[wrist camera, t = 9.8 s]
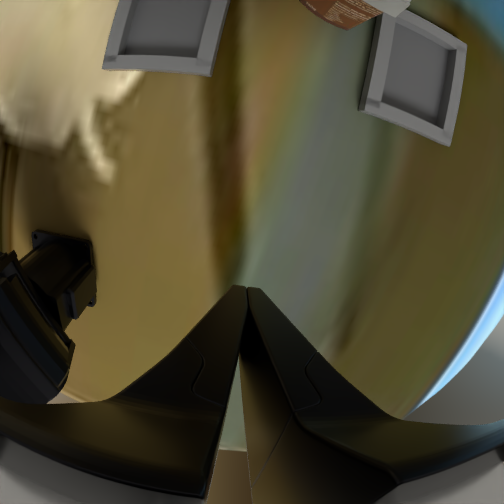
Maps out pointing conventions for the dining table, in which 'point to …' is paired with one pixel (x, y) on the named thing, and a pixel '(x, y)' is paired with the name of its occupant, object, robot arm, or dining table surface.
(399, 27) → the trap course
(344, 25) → the food container
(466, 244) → the dining table surface
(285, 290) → the dining table surface
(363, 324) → the dining table surface
